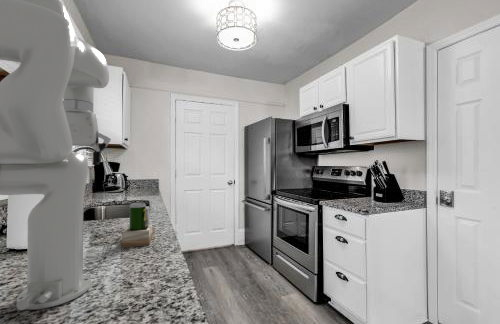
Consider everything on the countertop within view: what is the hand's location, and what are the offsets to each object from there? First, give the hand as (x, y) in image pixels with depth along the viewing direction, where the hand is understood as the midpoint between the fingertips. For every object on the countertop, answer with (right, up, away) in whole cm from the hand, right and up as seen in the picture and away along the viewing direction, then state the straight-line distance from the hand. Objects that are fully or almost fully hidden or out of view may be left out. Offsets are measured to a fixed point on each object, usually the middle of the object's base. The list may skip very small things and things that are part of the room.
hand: (78, 164), depth 73 cm
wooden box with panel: (+11, -28, +17) cm, 35 cm away
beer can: (+11, -27, +14) cm, 32 cm away
